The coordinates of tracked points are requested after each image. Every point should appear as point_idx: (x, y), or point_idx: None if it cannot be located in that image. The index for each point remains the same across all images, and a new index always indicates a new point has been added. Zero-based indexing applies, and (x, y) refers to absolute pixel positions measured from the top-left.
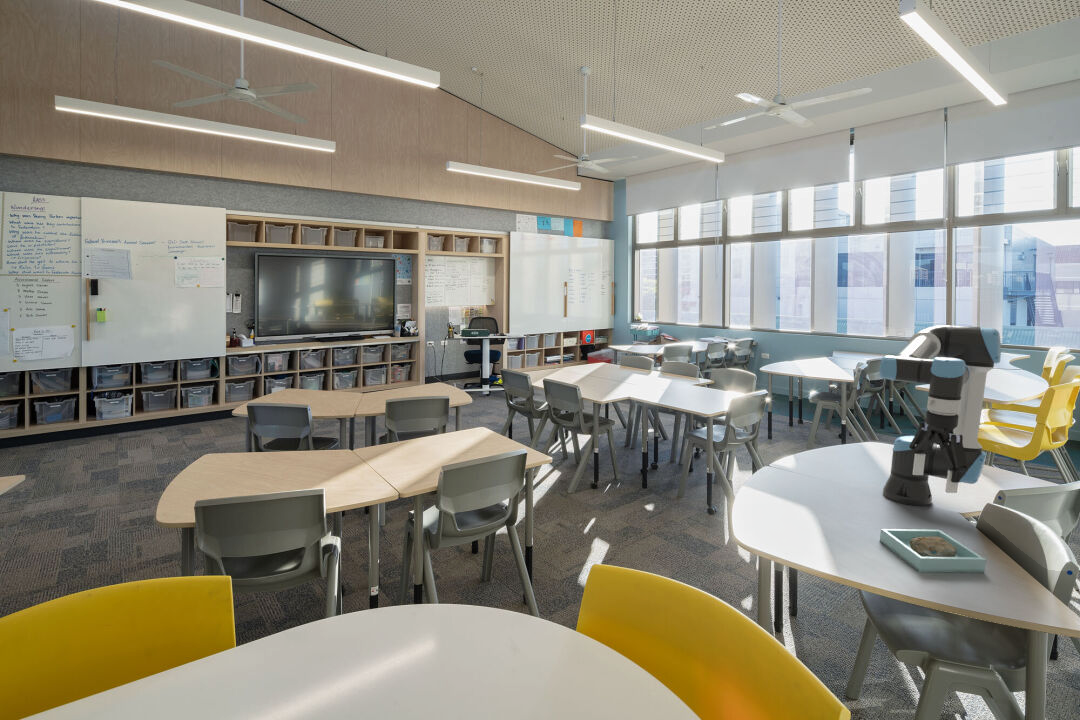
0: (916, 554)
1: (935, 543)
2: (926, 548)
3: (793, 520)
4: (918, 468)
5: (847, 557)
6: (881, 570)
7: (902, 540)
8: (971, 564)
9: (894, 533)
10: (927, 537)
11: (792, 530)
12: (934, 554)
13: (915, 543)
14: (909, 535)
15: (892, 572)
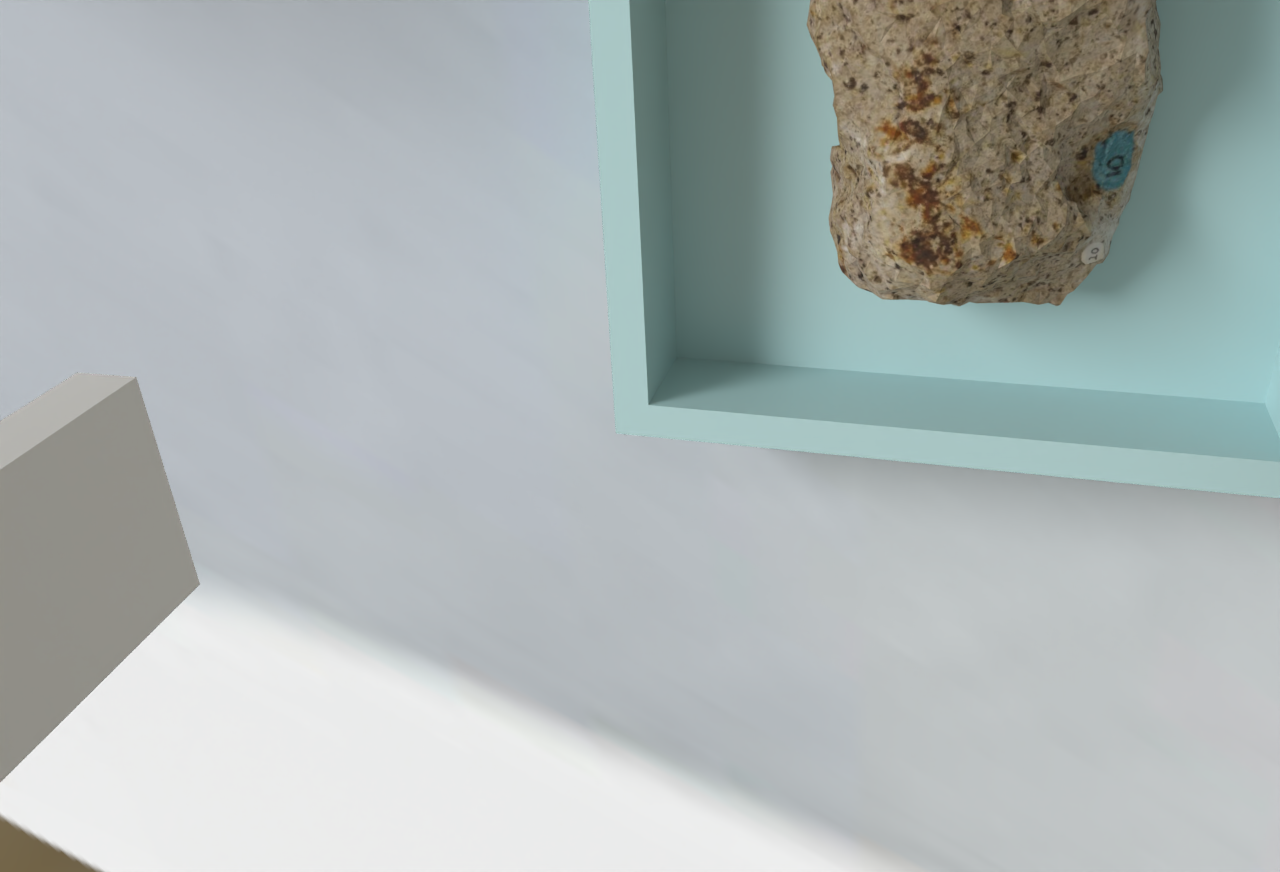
0: (1230, 481)
1: (1020, 87)
2: (1076, 241)
3: (362, 771)
4: (41, 619)
5: (955, 792)
6: (1200, 703)
7: (671, 184)
8: None
9: (653, 304)
10: (865, 92)
11: (531, 863)
12: (1133, 157)
13: (960, 301)
14: (653, 129)
15: (1251, 647)
